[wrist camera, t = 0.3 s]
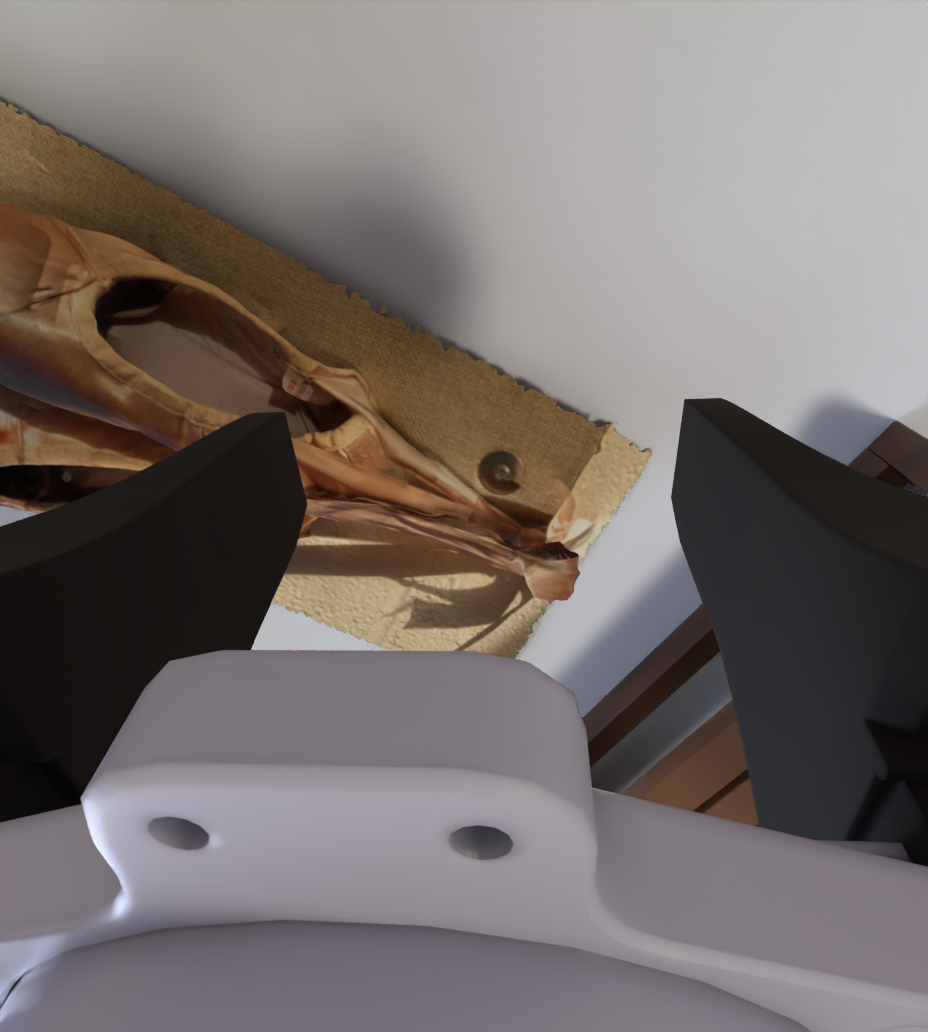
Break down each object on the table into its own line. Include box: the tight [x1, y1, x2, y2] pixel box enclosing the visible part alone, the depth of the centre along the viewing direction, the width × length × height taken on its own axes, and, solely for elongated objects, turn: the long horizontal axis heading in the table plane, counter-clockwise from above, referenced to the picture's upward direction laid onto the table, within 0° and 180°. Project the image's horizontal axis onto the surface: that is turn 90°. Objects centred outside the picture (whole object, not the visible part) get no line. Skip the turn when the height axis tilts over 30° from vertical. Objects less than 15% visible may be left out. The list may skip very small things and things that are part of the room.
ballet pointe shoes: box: [0, 101, 652, 659], centre depth 20 cm, size 14×7×28 cm
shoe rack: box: [582, 421, 928, 827], centre depth 25 cm, size 22×13×6 cm, turn 146°
